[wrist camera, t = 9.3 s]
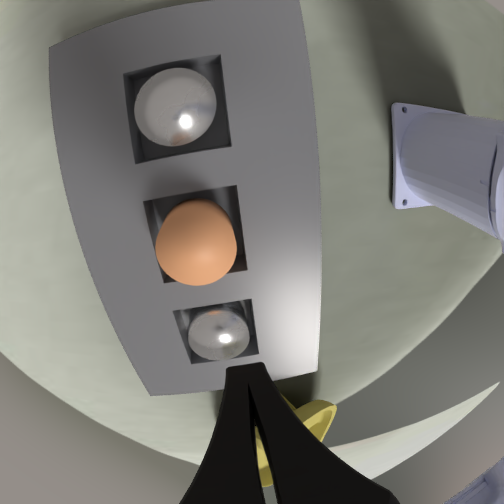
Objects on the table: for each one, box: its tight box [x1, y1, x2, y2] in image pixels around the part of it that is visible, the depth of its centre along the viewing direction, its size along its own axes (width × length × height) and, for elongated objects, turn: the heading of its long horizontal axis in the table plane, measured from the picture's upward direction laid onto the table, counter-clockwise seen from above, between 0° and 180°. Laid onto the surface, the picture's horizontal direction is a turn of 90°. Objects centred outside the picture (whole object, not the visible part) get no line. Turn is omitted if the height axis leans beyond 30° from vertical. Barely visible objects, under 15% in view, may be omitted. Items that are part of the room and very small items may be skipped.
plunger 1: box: [134, 68, 216, 146], centre depth 13 cm, size 4×4×2 cm
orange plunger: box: [155, 198, 237, 286], centre depth 15 cm, size 4×4×2 cm
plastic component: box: [255, 393, 337, 487], centre depth 27 cm, size 20×7×10 cm
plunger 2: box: [188, 301, 250, 360], centre depth 19 cm, size 4×4×2 cm
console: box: [49, 0, 322, 396], centre depth 16 cm, size 14×26×3 cm, turn 6°
